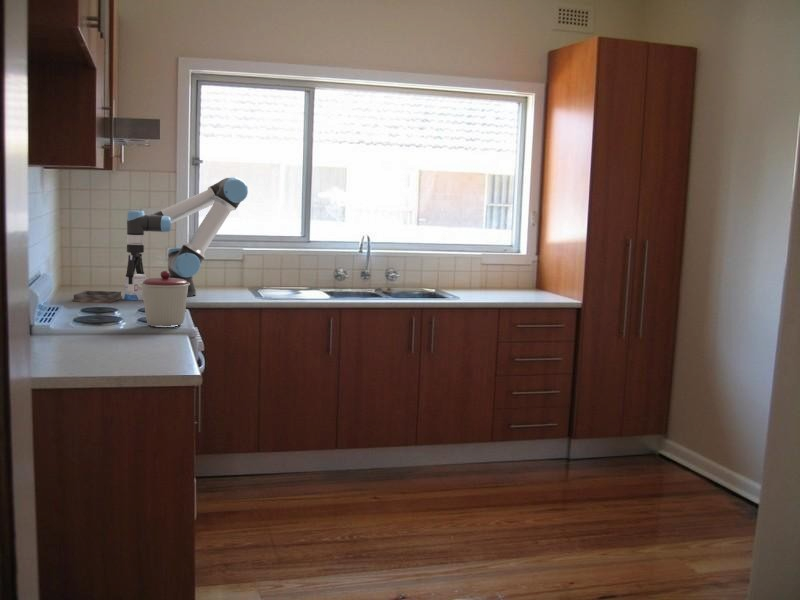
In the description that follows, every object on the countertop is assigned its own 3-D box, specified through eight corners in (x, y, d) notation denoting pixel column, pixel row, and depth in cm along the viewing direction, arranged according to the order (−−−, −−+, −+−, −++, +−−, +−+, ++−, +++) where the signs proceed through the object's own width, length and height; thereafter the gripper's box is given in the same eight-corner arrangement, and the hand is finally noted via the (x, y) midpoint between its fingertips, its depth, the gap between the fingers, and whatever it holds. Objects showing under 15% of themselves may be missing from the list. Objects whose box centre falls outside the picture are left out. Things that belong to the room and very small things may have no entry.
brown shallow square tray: (122, 297, 391) (122, 291, 391) (111, 302, 374) (111, 295, 374) (85, 296, 390) (85, 290, 390) (72, 301, 373) (72, 294, 373)
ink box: (130, 300, 382) (130, 275, 380) (124, 299, 385) (124, 274, 383) (146, 299, 389) (146, 274, 387) (140, 298, 392) (140, 273, 390)
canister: (197, 324, 323) (197, 270, 320) (176, 331, 305) (177, 274, 303) (154, 321, 326) (154, 267, 324) (131, 328, 309) (131, 271, 306)
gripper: (134, 242, 396) (134, 286, 398) (119, 245, 371) (118, 292, 374) (150, 243, 396) (150, 287, 399) (136, 245, 371) (135, 292, 374)
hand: (134, 289), depth 386 cm, fingers open, 13 cm apart
